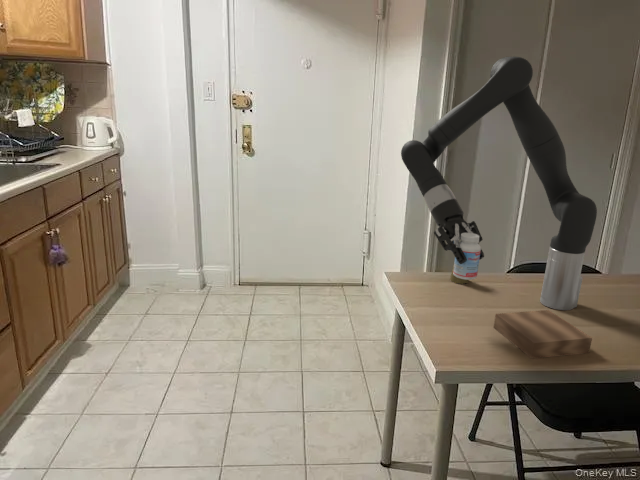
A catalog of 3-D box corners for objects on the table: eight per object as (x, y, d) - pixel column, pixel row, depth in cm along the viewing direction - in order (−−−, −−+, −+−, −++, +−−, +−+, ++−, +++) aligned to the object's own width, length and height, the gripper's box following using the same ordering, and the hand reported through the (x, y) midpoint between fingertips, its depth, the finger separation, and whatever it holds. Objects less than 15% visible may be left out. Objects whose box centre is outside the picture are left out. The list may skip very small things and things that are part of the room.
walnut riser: (545, 323, 138) (548, 309, 137) (589, 352, 123) (592, 337, 122) (493, 327, 134) (495, 313, 133) (531, 358, 119) (534, 343, 118)
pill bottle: (469, 282, 129) (475, 240, 126) (448, 275, 133) (453, 234, 130) (481, 276, 133) (486, 235, 130) (459, 270, 137) (465, 230, 134)
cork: (469, 284, 163) (473, 252, 160) (449, 282, 164) (454, 250, 161) (467, 278, 169) (472, 246, 166) (449, 276, 170) (453, 245, 167)
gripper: (432, 200, 129) (462, 258, 123) (470, 195, 137) (500, 249, 131) (415, 215, 135) (444, 271, 129) (452, 210, 143) (481, 262, 137)
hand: (472, 260), depth 130 cm, fingers closed on pill bottle, 6 cm apart
